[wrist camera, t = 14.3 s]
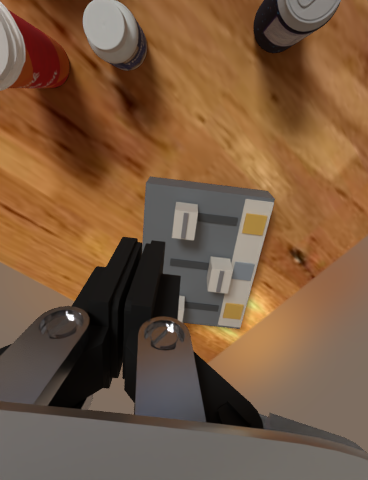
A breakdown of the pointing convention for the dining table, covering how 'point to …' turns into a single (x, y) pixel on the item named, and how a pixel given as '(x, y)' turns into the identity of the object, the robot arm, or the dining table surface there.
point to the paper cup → (29, 55)
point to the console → (209, 243)
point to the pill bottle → (114, 34)
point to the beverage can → (290, 21)
